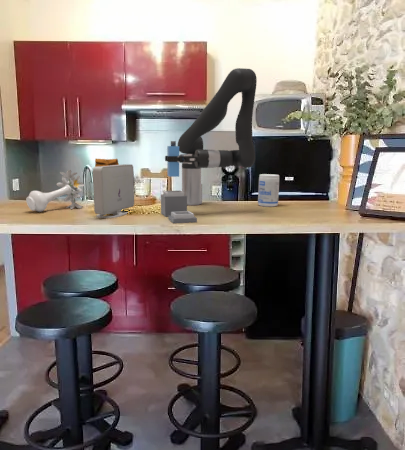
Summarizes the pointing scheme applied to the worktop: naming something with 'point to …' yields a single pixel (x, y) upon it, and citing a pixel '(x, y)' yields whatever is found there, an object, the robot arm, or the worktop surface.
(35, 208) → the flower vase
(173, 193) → the grey block
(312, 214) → the worktop surface
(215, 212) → the worktop surface
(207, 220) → the worktop surface
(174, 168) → the blue plug
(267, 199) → the supplement tub
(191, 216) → the plate
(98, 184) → the network device
